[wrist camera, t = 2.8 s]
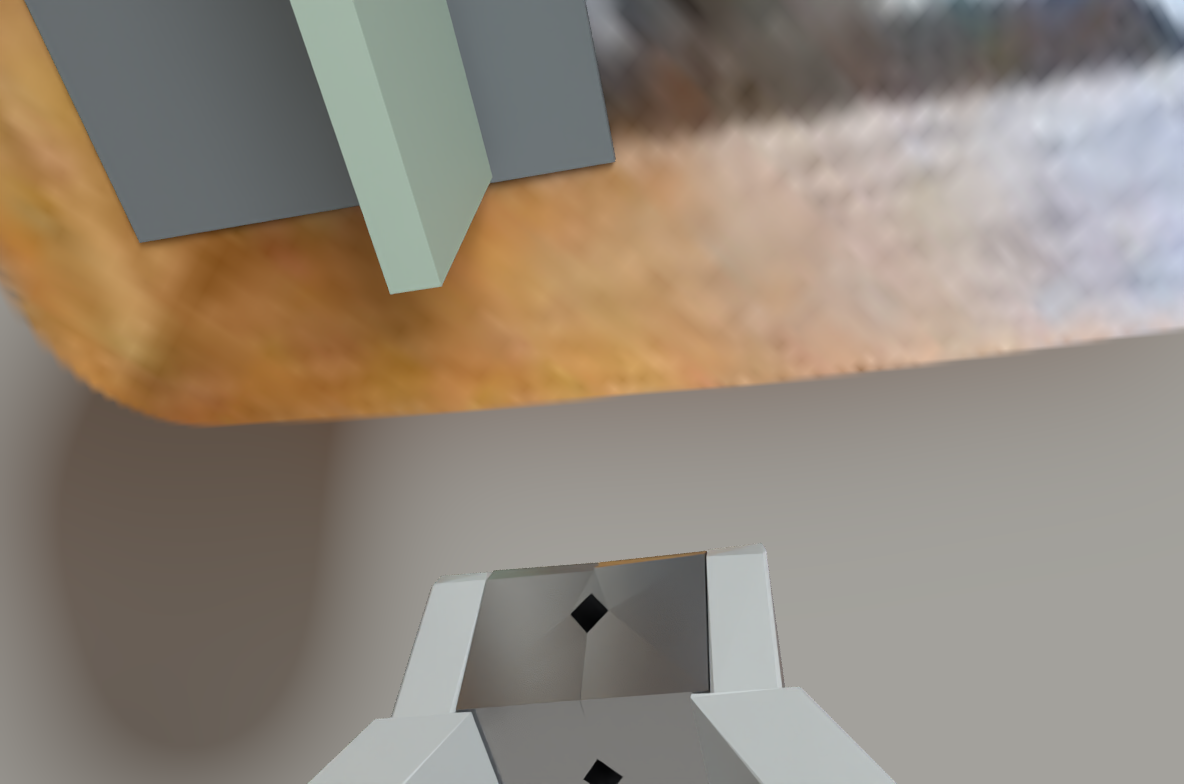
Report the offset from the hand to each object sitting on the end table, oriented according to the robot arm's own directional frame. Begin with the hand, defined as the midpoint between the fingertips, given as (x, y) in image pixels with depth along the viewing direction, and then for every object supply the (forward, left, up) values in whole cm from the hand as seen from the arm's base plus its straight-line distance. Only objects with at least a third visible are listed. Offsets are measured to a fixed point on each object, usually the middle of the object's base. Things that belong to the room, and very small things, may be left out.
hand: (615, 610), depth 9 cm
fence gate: (-2, -6, -20) cm, 20 cm away
